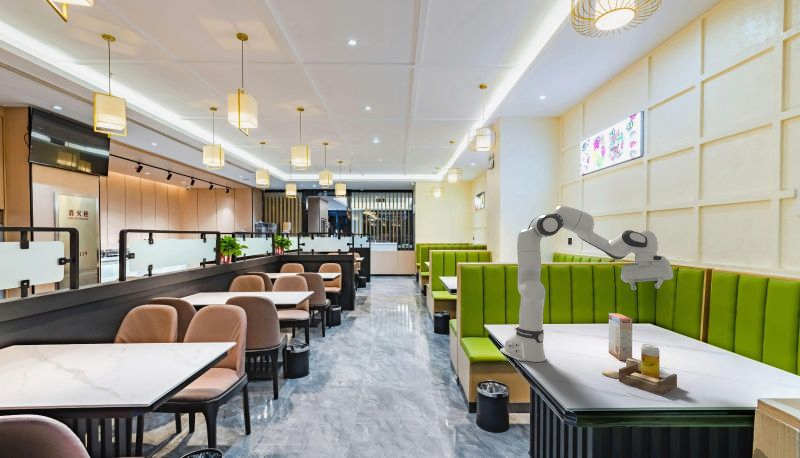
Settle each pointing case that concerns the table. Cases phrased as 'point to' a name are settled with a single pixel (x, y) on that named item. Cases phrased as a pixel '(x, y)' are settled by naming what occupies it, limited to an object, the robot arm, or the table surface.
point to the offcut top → (632, 361)
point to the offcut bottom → (645, 378)
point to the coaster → (611, 374)
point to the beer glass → (650, 361)
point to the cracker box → (620, 336)
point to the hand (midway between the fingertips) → (645, 288)
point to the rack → (663, 384)
